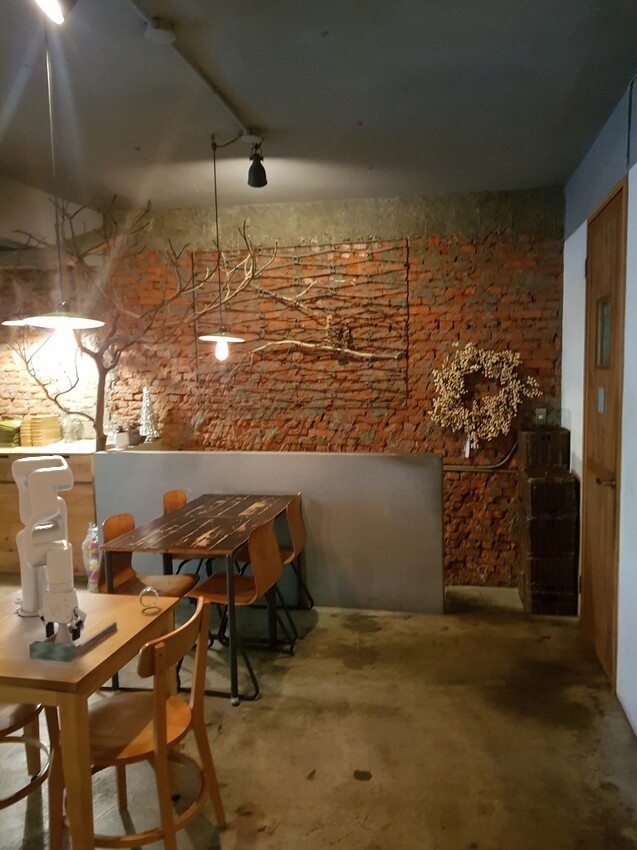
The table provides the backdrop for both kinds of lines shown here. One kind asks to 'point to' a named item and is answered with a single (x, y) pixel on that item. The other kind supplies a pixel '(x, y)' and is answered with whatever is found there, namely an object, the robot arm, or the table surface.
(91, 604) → the table surface
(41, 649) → the guide channel
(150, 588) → the ring
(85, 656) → the table surface
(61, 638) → the flask
